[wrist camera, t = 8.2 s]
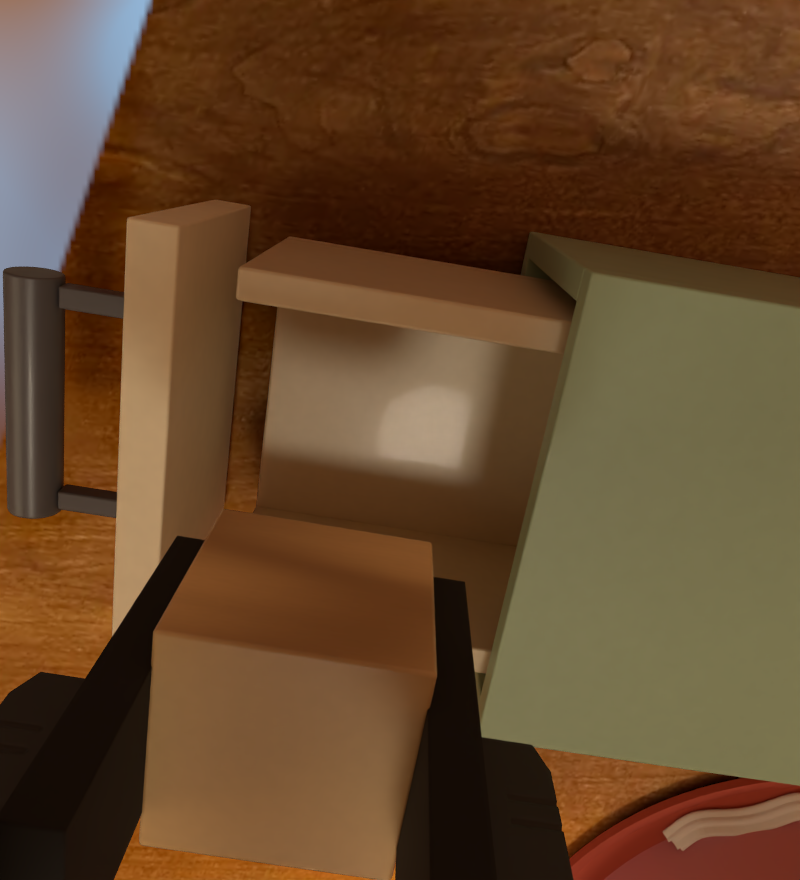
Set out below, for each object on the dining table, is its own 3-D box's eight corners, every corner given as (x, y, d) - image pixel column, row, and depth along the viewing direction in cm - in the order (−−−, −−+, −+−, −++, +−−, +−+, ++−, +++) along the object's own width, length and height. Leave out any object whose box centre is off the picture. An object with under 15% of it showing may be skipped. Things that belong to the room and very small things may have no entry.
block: (204, 682, 16) (136, 847, 12) (221, 506, 14) (151, 630, 10) (397, 711, 16) (391, 884, 12) (432, 540, 14) (438, 675, 11)
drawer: (77, 501, 28) (-43, 622, 21) (82, 176, 24) (-64, 185, 17) (575, 577, 29) (629, 721, 21) (659, 274, 25) (761, 323, 17)
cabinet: (458, 562, 30) (476, 739, 21) (529, 231, 25) (592, 271, 16) (846, 622, 30) (1030, 820, 21) (982, 308, 26) (1286, 389, 17)
